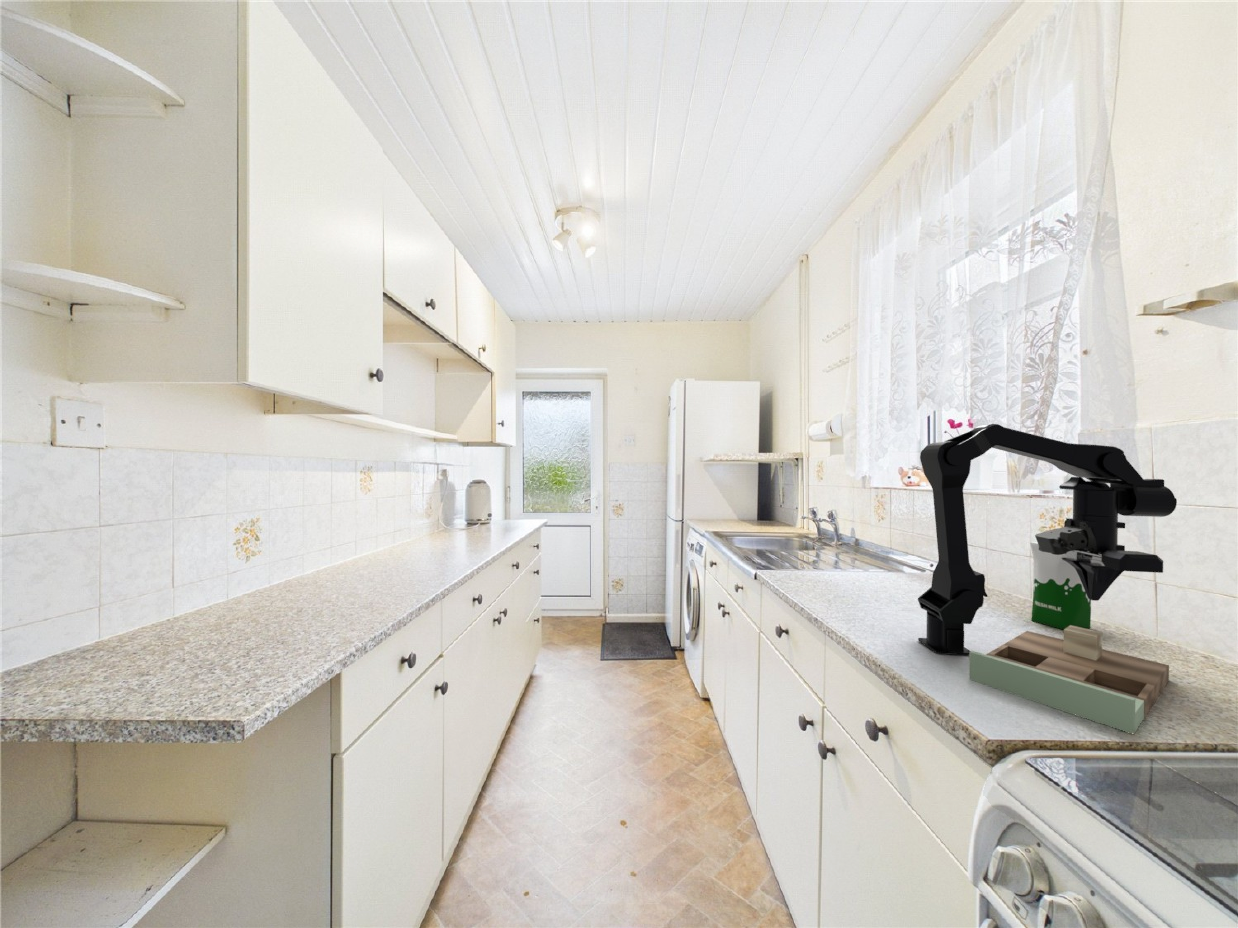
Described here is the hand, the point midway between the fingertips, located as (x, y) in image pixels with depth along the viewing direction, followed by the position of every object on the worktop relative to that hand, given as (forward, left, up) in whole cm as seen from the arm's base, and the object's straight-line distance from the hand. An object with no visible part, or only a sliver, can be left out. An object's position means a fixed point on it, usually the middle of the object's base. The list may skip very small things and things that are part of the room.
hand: (1093, 599), depth 83 cm
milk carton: (-19, +9, -11) cm, 24 cm away
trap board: (+8, -9, -11) cm, 16 cm away
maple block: (+5, -6, -8) cm, 11 cm away
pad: (+16, -19, -11) cm, 28 cm away
